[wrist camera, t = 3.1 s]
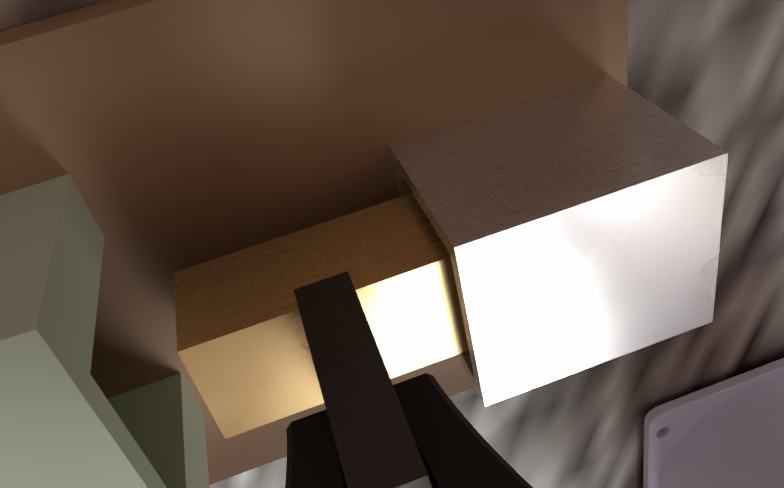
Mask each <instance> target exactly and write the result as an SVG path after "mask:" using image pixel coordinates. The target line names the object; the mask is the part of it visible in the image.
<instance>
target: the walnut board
mask: <svg viewBox="0 0 784 488" xmlns="http://www.w3.org/2000/svg"><path fill="white" fill-rule="evenodd" d="M606 73H607V74H608V75H610V76H611V77H613V78H614V79H616V80H618V81H619V82H621V83H622V84H624V85H625V86H627V87H628V35H627V0H107V1H103V2H100V3H97V4H93V5H90V6H86V7H83V8H79V9H76V10H72V11H69V12H66V13H62V14H59V15H55V16H52V17H48V18H45V19H41V20H38V21H35V22H31V23H28V24H24V25H21V26H17V27H14V28H10V29H7V30H4V31H0V195H3V194H6V193H9V192H13V191H16V190H19V189H22V188H25V187H29V186H32V185H35V184H38V183H41V182H44V181H48V180H51V179H54V178H57V177H60V176H63V175H67V174H69V175H70V176H71V178H72V180H73V182H74V184H75V185H76V187H77V189H78V191H79V192H80V194H81V196H82V198H83V200H84V201H85V203H86V205H87V207H88V209H89V210H90V212H91V214H92V216H93V217H94V219H95V221H96V223H97V225H98V226H99V228H100V230H101V232H102V233H103V235H104V237H105V238H104V247H103V257H102V266H101V276H100V286H99V295H98V305H97V314H96V324H95V333H94V343H93V352H92V362H91V372H90V374H91V376H92V377H93V379H94V380H95V382H96V383H97V385H98V386H99V388H100V389H101V391H102V392H103V394H104V395H105V397H106V398H110V397H113V396H116V395H119V394H122V393H125V392H127V391H130V390H133V389H136V388H139V387H142V386H145V385H147V384H150V383H153V382H156V381H159V380H162V379H164V378H167V377H170V376H173V375H176V374H179V373H181V374H182V376H183V378H184V380H185V381H186V383H187V385H188V387H189V389H190V390H191V392H192V394H193V396H194V398H195V399H196V401H197V403H198V405H199V406H200V408H201V410H202V412H203V414H204V423H205V435H206V448H207V460H208V473H209V485H210V484H213V483H215V482H218V481H221V480H224V479H226V478H229V477H232V476H234V475H237V474H240V473H242V472H245V471H248V470H251V469H253V468H256V467H259V466H261V465H264V464H267V463H270V462H272V461H275V460H278V459H280V458H283V457H286V456H287V433H286V429H287V427H288V426H289V424H290V423H291V422H292V421H295V420H298V419H301V418H303V417H306V416H309V415H312V414H314V413H317V412H320V411H323V410H325V409H326V407H325V403H323V404H320V405H317V406H315V407H312V408H309V409H306V410H304V411H301V412H298V413H295V414H293V415H290V416H287V417H284V418H282V419H279V420H276V421H273V422H271V423H268V424H265V425H262V426H260V427H257V428H254V429H251V430H249V431H246V432H243V433H240V434H238V435H235V436H232V437H229V438H227V439H225V438H224V436H223V434H222V432H221V431H220V429H219V427H218V425H217V423H216V421H215V420H214V418H213V416H212V414H211V412H210V411H209V409H208V407H207V405H206V403H205V401H204V400H203V398H202V396H201V394H200V392H199V391H198V389H197V387H196V385H195V383H194V381H193V380H192V378H191V376H190V374H189V372H188V371H187V369H186V367H185V365H184V363H183V362H182V360H181V358H180V356H179V354H178V352H177V334H176V311H175V287H174V272H177V271H180V270H183V269H186V268H189V267H192V266H195V265H198V264H201V263H204V262H207V261H210V260H213V259H216V258H219V257H222V256H225V255H228V254H231V253H234V252H237V251H240V250H243V249H246V248H249V247H252V246H255V245H258V244H261V243H264V242H267V241H270V240H273V239H276V238H279V237H282V236H285V235H288V234H291V233H294V232H297V231H300V230H303V229H306V228H309V227H312V226H315V225H318V224H321V223H323V222H326V221H329V220H332V219H335V218H338V217H341V216H344V215H347V214H350V213H353V212H356V211H359V210H362V209H365V208H368V207H371V206H374V205H377V204H380V203H383V202H386V201H389V200H392V199H395V198H398V197H401V196H400V192H399V188H398V183H397V179H396V175H395V171H394V166H393V162H392V158H391V154H390V150H389V144H392V143H395V142H398V141H401V140H404V139H407V138H410V137H413V136H416V135H419V134H422V133H425V132H428V131H432V130H435V129H438V128H441V127H444V126H447V125H450V124H453V123H456V122H459V121H462V120H465V119H468V118H471V117H474V116H478V115H481V114H484V113H487V112H490V111H493V110H496V109H499V108H502V107H505V106H508V105H511V104H514V103H517V102H520V101H524V100H527V99H530V98H533V97H536V96H539V95H542V94H545V93H548V92H551V91H554V90H557V89H560V88H563V87H566V86H569V85H573V84H576V83H579V82H582V81H585V80H588V79H591V78H594V77H597V76H600V75H603V74H606ZM425 373H427V374H430V375H433V376H434V377H435V379H436V380H437V382H438V383H439V385H440V386H441V388H442V389H443V390H444V392H445V393H446V394H447V396H451V395H453V394H456V393H459V392H461V391H464V390H467V389H470V388H472V387H474V385H473V383H472V382H471V380H470V378H469V376H468V374H467V372H466V370H465V368H464V366H463V364H462V363H461V361H460V359H459V357H458V355H455V356H452V357H449V358H446V359H444V360H441V361H438V362H436V363H433V364H430V365H427V366H425V367H422V368H419V369H416V370H414V371H411V372H408V373H405V374H403V375H400V376H397V377H394V378H392V379H391V382H392V384H393V385H394V384H397V383H400V382H403V381H405V380H408V379H411V378H414V377H416V376H419V375H422V374H425Z"/></svg>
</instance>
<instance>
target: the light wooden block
mask: <svg viewBox="0 0 784 488" xmlns="http://www.w3.org/2000/svg"><path fill="white" fill-rule="evenodd" d="M174 287H175V311H176V334H177V352H178V354H179V356H180V358H181V360H182V362H183V363H184V365H185V367H186V369H187V371H188V372H189V374H190V376H191V378H192V380H193V381H194V383H195V385H196V387H197V389H198V391H199V392H200V394H201V396H202V398H203V400H204V401H205V403H206V405H207V407H208V409H209V411H210V412H211V414H212V416H213V418H214V420H215V421H216V423H217V425H218V427H219V429H220V431H221V432H222V434H223V436H224V438H225V439H227V438H229V437H232V436H235V435H238V434H240V433H243V432H246V431H249V430H251V429H254V428H257V427H260V426H262V425H265V424H268V423H271V422H273V421H276V420H279V419H282V418H284V417H287V416H290V415H293V414H295V413H298V412H301V411H304V410H306V409H309V408H312V407H315V406H317V405H320V404H323V403H325V407H326V411H327V414H328V418H329V422H330V425H331V429H332V433H333V436H334V440H335V443H336V447H337V451H338V454H339V458H340V462H341V465H342V469H343V473H344V476H345V480H346V484H347V487H348V488H432V486H431V483H430V479H429V476H428V473H427V470H426V468H425V465H424V463H423V460H422V458H421V455H420V453H419V450H418V448H417V445H416V443H415V440H414V437H413V435H412V432H411V430H410V427H409V425H408V422H407V420H406V417H405V415H404V412H403V410H402V407H401V405H400V402H399V399H398V397H397V394H396V392H395V389H394V387H393V384H392V382H391V379H392V378H394V377H397V376H400V375H403V374H405V373H408V372H411V371H414V370H416V369H419V368H422V367H425V366H427V365H430V364H433V363H436V362H438V361H441V360H444V359H446V358H449V357H452V356H455V355H457V354H460V353H463V352H466V351H468V350H469V348H468V343H467V338H466V333H465V328H464V323H463V318H462V313H461V308H460V302H459V297H458V292H457V287H456V282H455V277H454V272H453V267H452V262H451V257H450V253H449V251H448V250H447V248H446V247H445V245H444V243H443V242H442V240H441V239H440V237H439V235H438V234H437V232H436V231H435V229H434V227H433V226H432V224H431V222H430V221H429V219H428V218H427V216H426V214H425V213H424V211H423V210H422V208H421V206H420V205H419V203H418V202H417V200H416V198H415V197H414V195H413V194H412V193H410V194H407V195H404V196H401V197H398V198H395V199H392V200H389V201H386V202H383V203H380V204H377V205H374V206H371V207H368V208H365V209H362V210H359V211H356V212H353V213H350V214H347V215H344V216H341V217H338V218H335V219H332V220H329V221H326V222H323V223H321V224H318V225H315V226H312V227H309V228H306V229H303V230H300V231H297V232H294V233H291V234H288V235H285V236H282V237H279V238H276V239H273V240H270V241H267V242H264V243H261V244H258V245H255V246H252V247H249V248H246V249H243V250H240V251H237V252H234V253H231V254H228V255H225V256H222V257H219V258H216V259H213V260H210V261H207V262H204V263H201V264H198V265H195V266H192V267H189V268H186V269H183V270H180V271H177V272H174Z"/></svg>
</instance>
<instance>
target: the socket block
mask: <svg viewBox="0 0 784 488" xmlns="http://www.w3.org/2000/svg"><path fill="white" fill-rule="evenodd" d="M104 238H105V237H104V235H103V233H102V232H101V230H100V228H99V226H98V225H97V223H96V221H95V219H94V217H93V216H92V214H91V212H90V210H89V209H88V207H87V205H86V203H85V201H84V200H83V198H82V196H81V194H80V192H79V191H78V189H77V187H76V185H75V184H74V182H73V180H72V178H71V176H70V175H69V174H67V175H63V176H60V177H57V178H54V179H51V180H48V181H44V182H41V183H38V184H35V185H32V186H29V187H25V188H22V189H19V190H16V191H13V192H9V193H6V194H3V195H0V488H210V485H209V473H208V460H207V448H206V435H205V423H204V414H203V412H202V410H201V408H200V406H199V405H198V403H197V401H196V399H195V398H194V396H193V394H192V392H191V390H190V389H189V387H188V385H187V383H186V381H185V380H184V378H183V376H182V374H181V373H179V374H176V375H173V376H170V377H167V378H164V379H162V380H159V381H156V382H153V383H150V384H147V385H145V386H142V387H139V388H136V389H133V390H130V391H127V392H125V393H122V394H119V395H116V396H113V397H110V398H106V397H105V395H104V394H103V392H102V391H101V389H100V388H99V386H98V385H97V383H96V382H95V380H94V379H93V377H92V376H91V374H90V372H91V362H92V352H93V343H94V333H95V324H96V314H97V305H98V295H99V286H100V276H101V266H102V257H103V247H104Z"/></svg>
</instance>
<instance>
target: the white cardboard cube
mask: <svg viewBox="0 0 784 488" xmlns="http://www.w3.org/2000/svg"><path fill="white" fill-rule="evenodd" d="M389 150H390V154H391V158H392V162H393V166H394V171H395V175H396V179H397V183H398V188H399V192H400V196H404V195H407V194H410V193H412V194H413V195H414V197H415V198H416V200H417V202H418V203H419V205H420V206H421V208H422V210H423V211H424V213H425V214H426V216H427V218H428V219H429V221H430V222H431V224H432V226H433V227H434V229H435V231H436V232H437V234H438V235H439V237H440V239H441V240H442V242H443V243H444V245H445V247H446V248H447V250H448V251H449V253H450V257H451V262H452V267H453V272H454V277H455V282H456V287H457V292H458V297H459V302H460V308H461V313H462V318H463V323H464V328H465V333H466V338H467V343H468V348H469V350H468V351H466V352H463V353H460V354H457V355H458V357H459V359H460V361H461V363H462V364H463V366H464V368H465V370H466V372H467V374H468V376H469V378H470V380H471V382H472V383H473V385H474V387H475V389H476V391H477V393H478V395H479V397H480V399H481V400H482V402H483V404H484V406H485V407H486V406H489V405H491V404H494V403H497V402H499V401H502V400H505V399H507V398H510V397H513V396H515V395H518V394H521V393H523V392H526V391H529V390H531V389H534V388H537V387H540V386H542V385H545V384H548V383H550V382H553V381H556V380H558V379H561V378H564V377H566V376H569V375H572V374H574V373H577V372H580V371H582V370H585V369H588V368H590V367H593V366H596V365H598V364H601V363H604V362H606V361H609V360H612V359H614V358H617V357H620V356H622V355H625V354H628V353H630V352H633V351H636V350H638V349H641V348H644V347H646V346H649V345H652V344H655V343H657V342H660V341H663V340H665V339H668V338H671V337H673V336H676V335H679V334H681V333H684V332H687V331H689V330H692V329H695V328H697V327H700V326H703V325H705V324H708V323H711V322H713V312H714V301H715V291H716V280H717V269H718V258H719V248H720V237H721V226H722V215H723V204H724V194H725V183H726V172H727V161H728V152H726V151H725V150H723V149H721V148H720V147H718V146H717V145H715V144H714V143H712V142H711V141H709V140H708V139H706V138H705V137H703V136H702V135H700V134H699V133H697V132H696V131H694V130H692V129H691V128H689V127H688V126H686V125H685V124H683V123H682V122H680V121H679V120H677V119H676V118H674V117H673V116H671V115H670V114H668V113H666V112H665V111H663V110H662V109H660V108H659V107H657V106H656V105H654V104H653V103H651V102H650V101H648V100H647V99H645V98H644V97H642V96H640V95H639V94H637V93H636V92H634V91H633V90H631V89H630V88H628V87H627V86H625V85H624V84H622V83H621V82H619V81H618V80H616V79H614V78H613V77H611V76H610V75H608V74H607V73H606V74H603V75H600V76H597V77H594V78H591V79H588V80H585V81H582V82H579V83H576V84H573V85H569V86H566V87H563V88H560V89H557V90H554V91H551V92H548V93H545V94H542V95H539V96H536V97H533V98H530V99H527V100H524V101H520V102H517V103H514V104H511V105H508V106H505V107H502V108H499V109H496V110H493V111H490V112H487V113H484V114H481V115H478V116H474V117H471V118H468V119H465V120H462V121H459V122H456V123H453V124H450V125H447V126H444V127H441V128H438V129H435V130H432V131H428V132H425V133H422V134H419V135H416V136H413V137H410V138H407V139H404V140H401V141H398V142H395V143H392V144H389Z"/></svg>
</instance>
